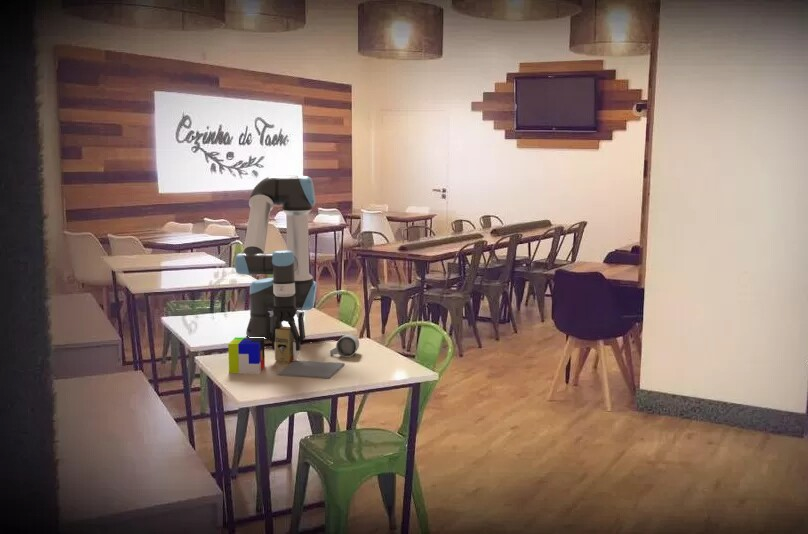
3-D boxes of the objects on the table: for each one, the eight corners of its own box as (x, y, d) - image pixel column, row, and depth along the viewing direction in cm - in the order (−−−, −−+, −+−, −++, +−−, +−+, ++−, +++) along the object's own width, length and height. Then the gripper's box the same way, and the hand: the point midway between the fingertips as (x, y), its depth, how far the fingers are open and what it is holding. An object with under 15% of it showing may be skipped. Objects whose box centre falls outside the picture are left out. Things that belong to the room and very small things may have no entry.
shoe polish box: (288, 363, 275) (288, 330, 273) (275, 362, 276) (275, 329, 275) (294, 360, 279) (294, 327, 278) (282, 359, 281) (281, 326, 279)
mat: (295, 362, 277) (295, 360, 277) (344, 364, 274) (344, 363, 274) (277, 375, 260) (277, 373, 260) (329, 378, 256) (329, 376, 256)
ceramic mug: (360, 352, 292) (359, 332, 291) (356, 357, 284) (356, 336, 283) (332, 352, 293) (331, 332, 292) (328, 357, 285) (327, 336, 284)
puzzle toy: (258, 373, 262) (258, 344, 261) (229, 373, 262) (228, 343, 261) (264, 365, 272) (264, 337, 271) (236, 365, 272) (235, 337, 271)
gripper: (254, 296, 273) (257, 361, 276) (307, 297, 269) (309, 362, 272) (262, 292, 280) (264, 356, 283) (313, 293, 277) (315, 357, 279)
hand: (286, 359), depth 278 cm, fingers open, 6 cm apart
